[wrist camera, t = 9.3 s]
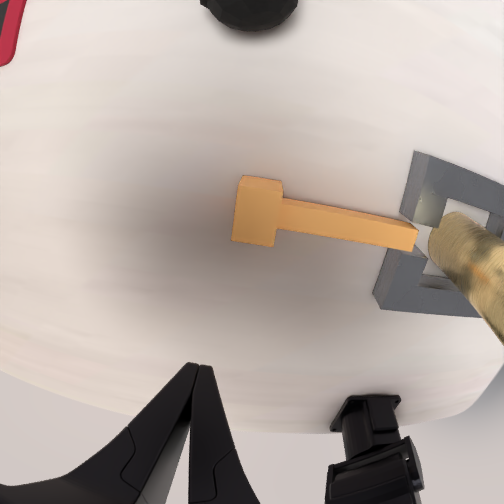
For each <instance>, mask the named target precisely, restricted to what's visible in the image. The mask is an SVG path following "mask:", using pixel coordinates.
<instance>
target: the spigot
mask: <svg viewBox="0 0 504 504" xmlns="http://www.w3.org/2000/svg"><path fill="white" fill-rule="evenodd" d="M428 250H429V255H430V257H431V259H432V260H433V262H434V263H435V264H436V265H437V266H438V267H439V268H440V269H441V270H442V271H443V272H444V274H445V275H446V276H447V277H448V278H449V279H450V280H451V281H452V282H453V284H454V285H455V286H456V287H457V288H458V289H459V290H460V292H461V293H462V294H463V295H464V296H465V297H466V299H467V300H468V301H469V302H470V303H471V304H472V306H473V307H474V308H475V309H476V311H477V312H478V313H479V314H480V315H481V317H482V318H483V319H484V320H485V322H486V323H487V324H488V326H489V327H490V328H491V329H492V331H493V332H494V333H495V335H496V336H497V337H498V339H499V340H500V341H501V343H502V344H503V345H504V241H503V240H502V239H500V238H499V237H497V236H496V235H495V234H493V233H492V232H490V231H489V230H487V229H486V228H484V227H483V226H481V225H480V224H478V223H477V222H475V221H474V220H472V219H471V218H469V217H468V216H466V215H465V214H463V213H460V212H452V213H449V214H447V215H445V216H443V217H442V219H441V222H440V225H439V228H433V229H432V231H431V234H430V237H429V242H428Z"/></svg>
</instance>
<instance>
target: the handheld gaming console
mask: <svg viewBox="0 0 504 504" xmlns="http://www.w3.org/2000/svg"><path fill="white" fill-rule="evenodd" d="M26 1H27V0H0V67H1V66H3V65H6V64H8V63H9V62H10V61H11V60H12V59H13V57H14V54H15V50H16V44H17V39H18V34H19V29H20V24H21V20H22V16H23V12H24V8H25V4H26Z"/></svg>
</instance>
